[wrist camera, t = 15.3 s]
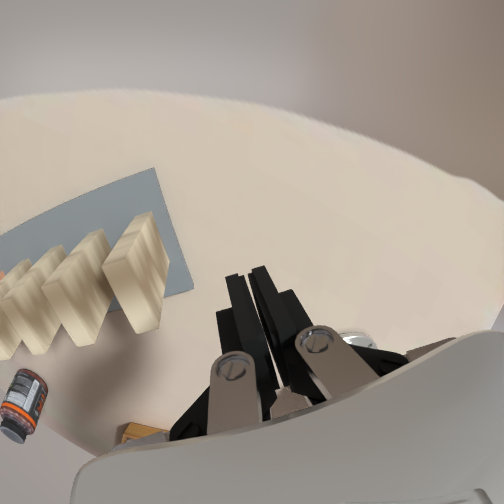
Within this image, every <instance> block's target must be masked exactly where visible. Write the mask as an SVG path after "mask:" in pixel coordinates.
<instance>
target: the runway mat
mask: <svg viewBox="0 0 504 504" xmlns="http://www.w3.org/2000/svg"><path fill="white" fill-rule="evenodd" d="M150 211H152V214H153V217H154V220H155V222H156V225H157V228H158V231H159V234H160V236H161V239H162V242H163V245H164V247H165V250H166V253H167V255H168V258H169V260H170V262H169V268H168V273H167V279H166V285H165V291H164V297H167V296H170V295H174V294H177V293H181V292H185V291H188V290H192V289H194V283H193V281H192V278H191V275H190V273H189V270H188V267H187V265H186V262H185V259H184V257H183V254H182V251H181V248H180V245H179V243H178V240H177V237H176V234H175V231H174V228H173V225H172V222H171V219H170V216H169V213H168V210H167V207H166V204H165V201H164V198H163V195H162V192H161V189H160V185H159V182H158V179H157V176H156V172H155V169H154V168H151V169H148V170H145V171H142V172H139V173H137V174H134V175H131V176H128V177H126V178H123V179H120V180H118V181H115V182H113V183H110V184H108V185H105V186H103V187H100V188H98V189H95V190H93V191H90V192H88V193H86V194H83V195H81V196H79V197H76V198H74V199H72V200H70V201H68V202H65V203H63V204H61V205H59V206H57V207H55V208H53V209H50V210H48V211H46V212H44V213H42V214H40V215H38V216H36V217H34V218H32V219H30V220H29V221H27V222H25V223H23V224H21V225H19V226H17V227H15V228H14V229H12V230H10V231H8V232H6V233H5V234H3V235H1V236H0V272H1V271H3V272H4V274H5V276H6V275H7V274H8V273H9V272H10V271H11V270H12V269H13V268H14V267H15V266H16V265H17V264H18V263H19V262H21V261H23V260H26V259H28V258H29V260H30V262H31V264H32V266H33V265H34V264H35V263H36V262H37V261H38V260H39V259H40V258H41V257H42V256H43V255H44V254H45V253H46V252H47V251H48V250H50V249H51V248H53V247H56V246H58V245H61V244H62V246H63V248H64V251H65V253H66V255H67V256H68V255H69V254H70V253H71V252H72V251H73V249H74V248H75V247H76V246H77V245H78V244H79V243H80V242H81V241H82V240H83V239H84V238H85V237H86V236H87V235H88V234H89V233H91V232H94V231H96V230H99V229H102V228H103V230H104V233H105V235H106V238H107V240H108V243H109V245H110V248H111V250H112V249H113V248H114V246H115V245H116V243H117V242H118V240H119V239H120V237H121V236H122V234H123V233H124V231H125V230H126V229H127V227H128V226H129V224H130V223H131V222H132V220H133V219H134V217H135V216H138V215H141V214H144V213H147V212H150ZM119 309H122V307H121V305H120V303H119V301H118V299H117V298H116V296H115V294H114V296H113V299H112V301H111V303H110V306H109V308H108V310H107V313H108V312H111V311H115V310H119Z"/></svg>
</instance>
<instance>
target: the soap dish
mask: <svg viewBox="0 0 504 504" xmlns="http://www.w3.org/2000/svg"><path fill="white" fill-rule="evenodd" d="M160 431H162V430H161V429H157V428H152V427H148V426H144V425H139V424H135V423H131V422H130V424H129V425H128V427H127V429H126V430H125V432H124V434H123V437H122V441H121V444H123V443H126V442H129V441H133V440H136V439H139V438H142V437H145V436H148V435H151V434H154V433H157V432H160ZM163 431H164V432H168V431H166V430H163Z"/></svg>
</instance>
